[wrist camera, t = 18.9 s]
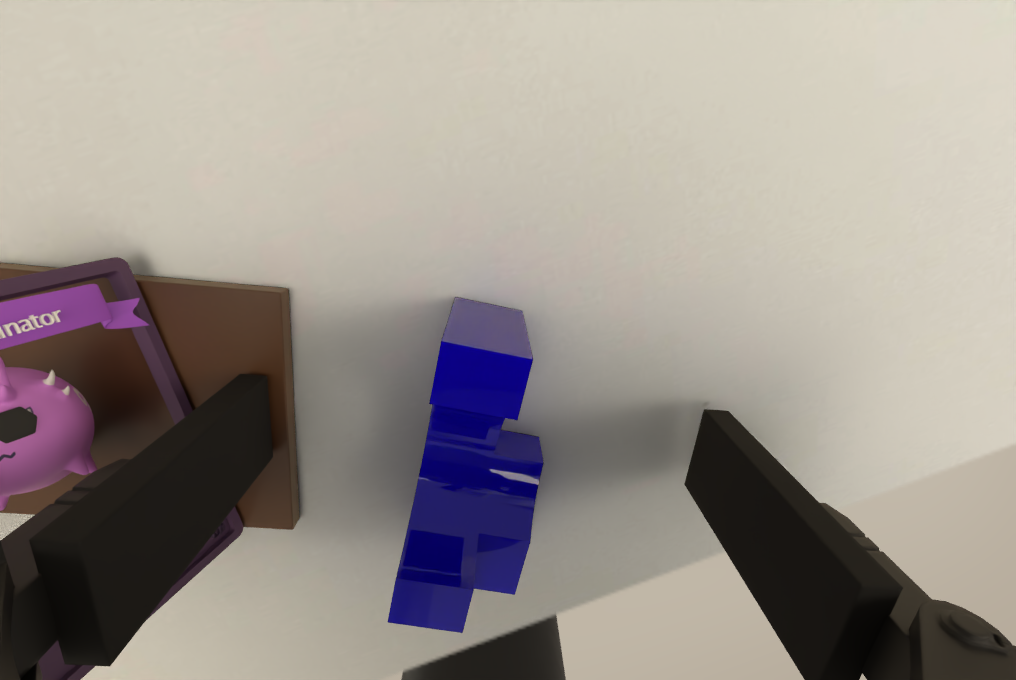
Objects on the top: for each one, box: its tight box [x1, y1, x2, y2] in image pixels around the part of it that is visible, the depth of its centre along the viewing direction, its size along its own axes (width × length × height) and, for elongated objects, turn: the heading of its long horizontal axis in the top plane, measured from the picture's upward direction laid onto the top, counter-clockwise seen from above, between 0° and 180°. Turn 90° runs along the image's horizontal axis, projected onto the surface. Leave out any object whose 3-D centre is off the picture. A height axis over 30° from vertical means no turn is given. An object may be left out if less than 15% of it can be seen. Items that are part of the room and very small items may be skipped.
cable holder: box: [388, 297, 544, 633], centre depth 13 cm, size 8×4×4 cm, turn 167°
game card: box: [0, 258, 243, 680], centre depth 12 cm, size 7×5×9 cm
